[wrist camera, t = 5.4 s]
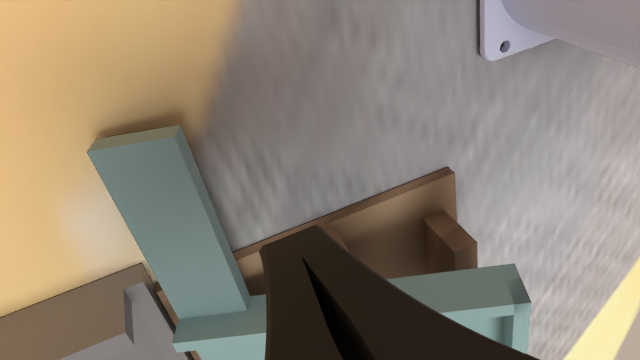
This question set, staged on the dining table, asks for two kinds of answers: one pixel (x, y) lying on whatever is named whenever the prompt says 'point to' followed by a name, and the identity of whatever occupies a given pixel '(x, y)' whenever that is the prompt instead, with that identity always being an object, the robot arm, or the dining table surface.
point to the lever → (222, 270)
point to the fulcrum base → (383, 235)
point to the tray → (94, 324)
